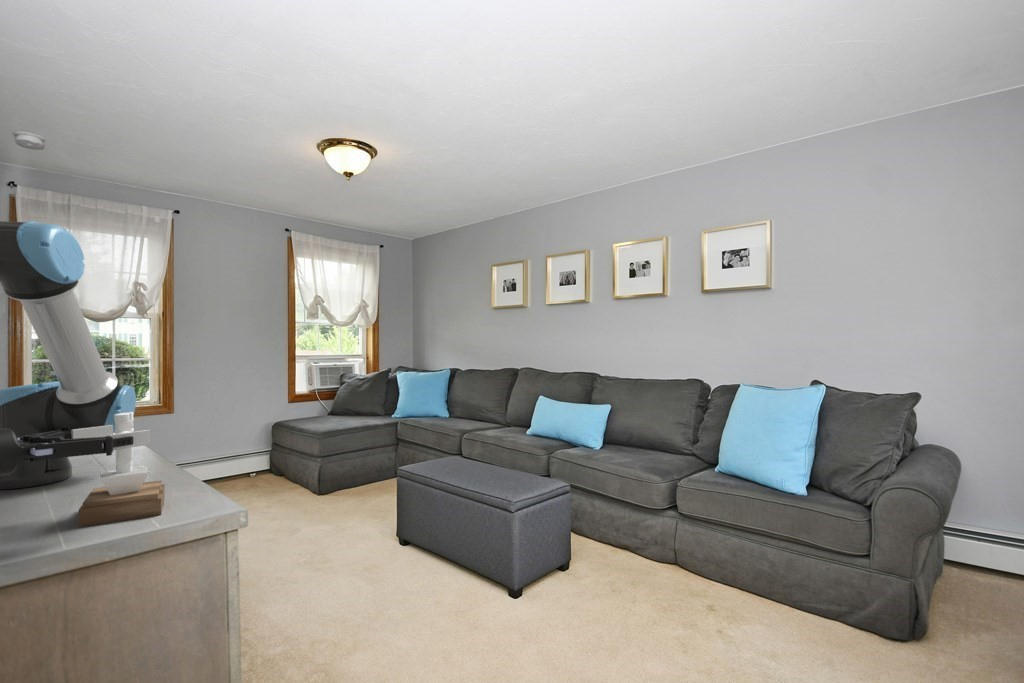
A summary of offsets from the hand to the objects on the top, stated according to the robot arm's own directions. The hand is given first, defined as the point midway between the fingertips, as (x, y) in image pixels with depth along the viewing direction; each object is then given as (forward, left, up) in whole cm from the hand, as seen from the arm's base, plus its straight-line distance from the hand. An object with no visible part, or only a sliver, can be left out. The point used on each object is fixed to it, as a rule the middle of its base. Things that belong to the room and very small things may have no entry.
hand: (130, 434), depth 99 cm
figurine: (0, -1, -11) cm, 11 cm away
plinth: (0, -1, -15) cm, 15 cm away
